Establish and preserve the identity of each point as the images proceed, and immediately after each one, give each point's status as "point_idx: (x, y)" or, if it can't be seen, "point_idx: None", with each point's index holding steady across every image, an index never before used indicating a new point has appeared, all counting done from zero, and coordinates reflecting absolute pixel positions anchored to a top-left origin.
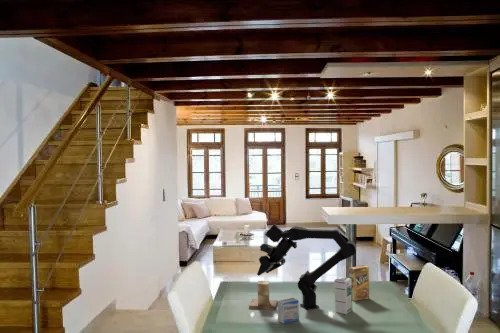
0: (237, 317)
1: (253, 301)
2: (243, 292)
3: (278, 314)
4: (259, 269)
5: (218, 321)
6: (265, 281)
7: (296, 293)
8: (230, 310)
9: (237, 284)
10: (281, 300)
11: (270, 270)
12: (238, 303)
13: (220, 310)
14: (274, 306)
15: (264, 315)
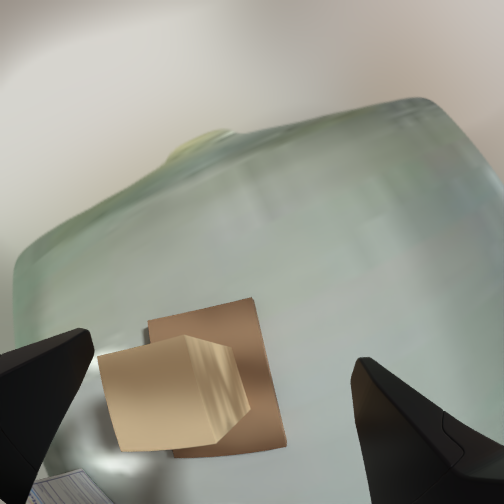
0: (66, 311)
1: (213, 320)
2: (374, 193)
3: (64, 474)
4: (15, 358)
5: (41, 264)
6: (184, 413)
7: None
8: (119, 253)
9: (439, 136)
10: (34, 498)
11: (365, 441)
12: (208, 243)
13: (115, 218)
14: (176, 454)
15: (104, 415)
